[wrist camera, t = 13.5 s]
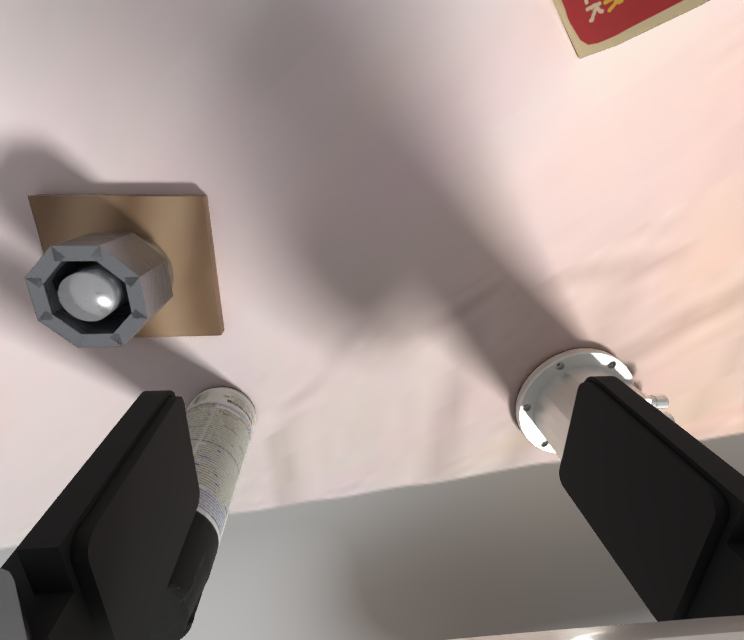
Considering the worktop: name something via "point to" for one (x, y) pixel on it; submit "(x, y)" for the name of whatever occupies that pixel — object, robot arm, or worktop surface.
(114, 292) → the grey rounded fixture
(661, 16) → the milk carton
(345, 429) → the worktop surface
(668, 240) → the worktop surface
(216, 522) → the spray can
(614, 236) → the worktop surface
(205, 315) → the base plate
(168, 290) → the octagonal pot
